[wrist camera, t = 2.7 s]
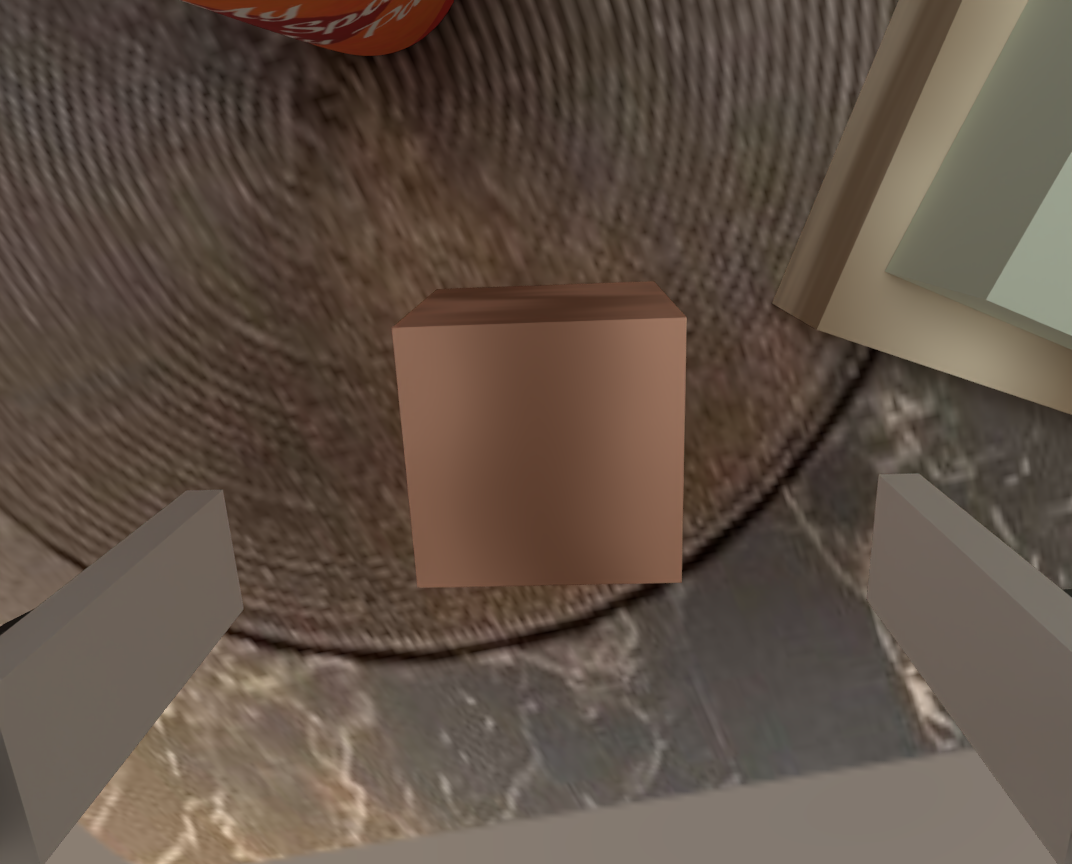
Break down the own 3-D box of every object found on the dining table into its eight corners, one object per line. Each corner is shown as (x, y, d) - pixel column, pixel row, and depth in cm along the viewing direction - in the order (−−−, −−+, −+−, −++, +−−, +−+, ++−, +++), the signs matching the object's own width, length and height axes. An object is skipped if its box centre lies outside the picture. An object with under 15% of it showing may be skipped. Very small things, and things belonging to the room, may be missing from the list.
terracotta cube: (453, 488, 27) (417, 587, 21) (437, 288, 25) (392, 327, 18) (652, 483, 27) (681, 582, 20) (653, 280, 25) (686, 317, 18)
